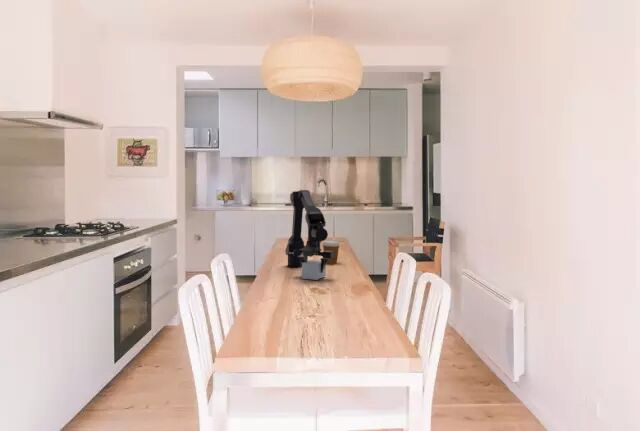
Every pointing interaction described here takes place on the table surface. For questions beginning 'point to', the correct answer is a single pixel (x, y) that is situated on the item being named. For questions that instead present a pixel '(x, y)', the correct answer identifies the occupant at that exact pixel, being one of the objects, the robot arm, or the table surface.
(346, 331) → the table surface
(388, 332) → the table surface
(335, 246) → the disposable coffee cup
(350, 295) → the table surface
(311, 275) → the grey rectangular block
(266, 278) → the table surface
